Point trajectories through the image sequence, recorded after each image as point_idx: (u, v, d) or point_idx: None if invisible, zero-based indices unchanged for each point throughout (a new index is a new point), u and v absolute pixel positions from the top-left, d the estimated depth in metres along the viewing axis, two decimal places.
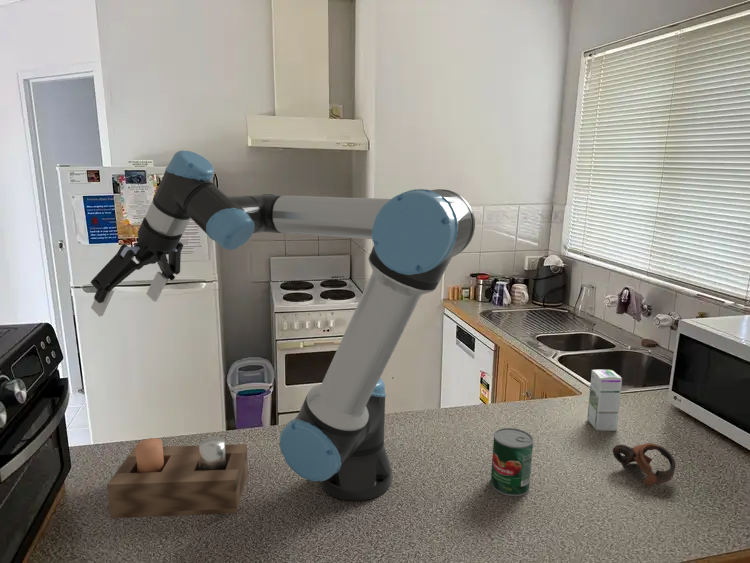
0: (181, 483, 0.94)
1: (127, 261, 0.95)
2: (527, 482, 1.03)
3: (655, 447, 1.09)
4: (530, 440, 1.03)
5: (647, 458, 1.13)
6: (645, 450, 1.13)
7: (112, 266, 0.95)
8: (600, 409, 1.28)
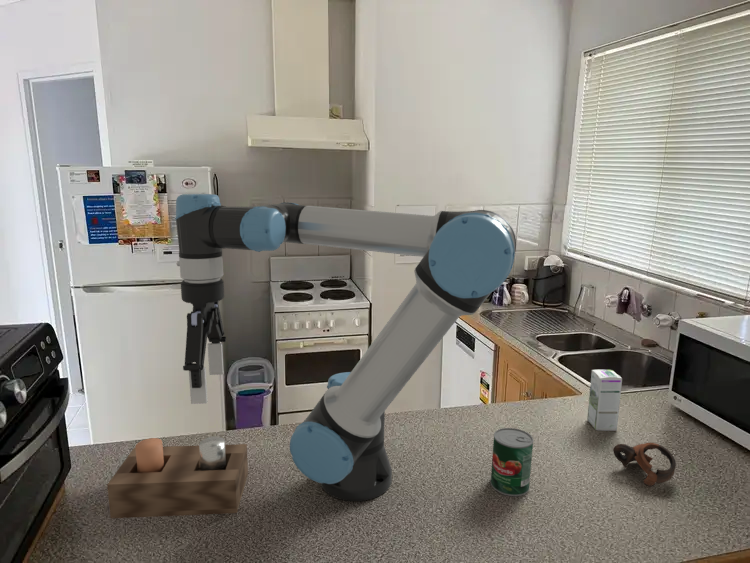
0: (181, 483, 0.94)
1: (202, 326, 0.88)
2: (527, 482, 1.03)
3: (655, 446, 1.09)
4: (530, 440, 1.03)
5: (647, 457, 1.14)
6: (645, 449, 1.13)
7: (193, 339, 0.87)
8: (600, 409, 1.28)
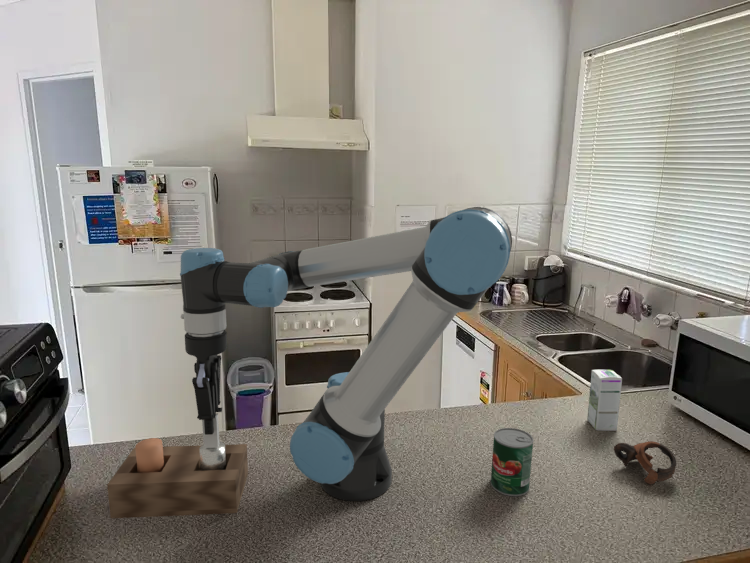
0: (181, 483, 0.94)
1: (208, 385, 0.92)
2: (527, 482, 1.03)
3: (656, 445, 1.10)
4: (530, 440, 1.03)
5: (648, 456, 1.14)
6: (646, 448, 1.13)
7: (202, 398, 0.93)
8: (600, 409, 1.28)
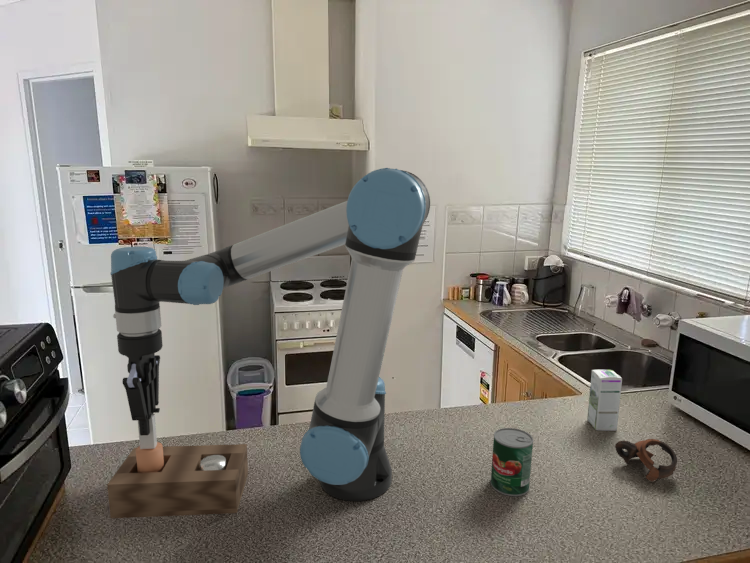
0: (181, 483, 0.94)
1: (140, 386, 0.91)
2: (527, 482, 1.03)
3: (657, 442, 1.11)
4: (530, 440, 1.03)
5: (648, 453, 1.15)
6: (647, 446, 1.14)
7: (135, 399, 0.92)
8: (600, 409, 1.28)
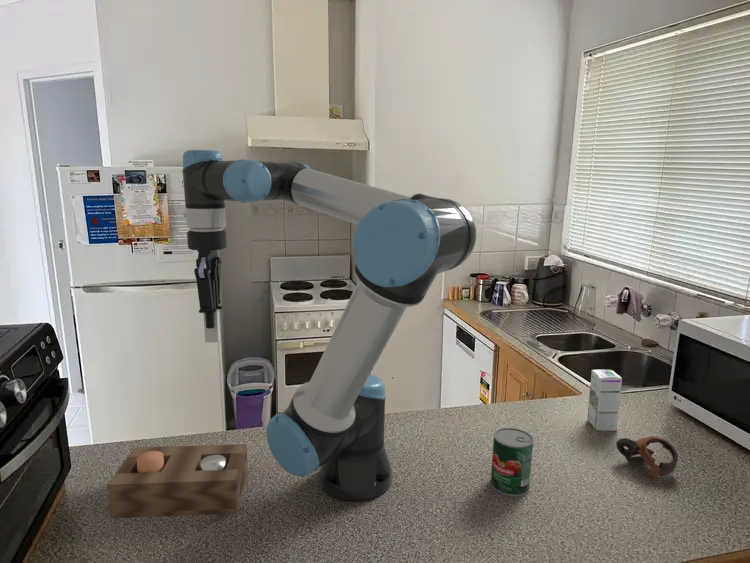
0: (181, 483, 0.94)
1: (209, 277, 0.99)
2: (527, 482, 1.03)
3: (658, 440, 1.12)
4: (530, 440, 1.03)
5: (649, 451, 1.16)
6: (647, 443, 1.16)
7: (204, 289, 1.00)
8: (600, 409, 1.28)
